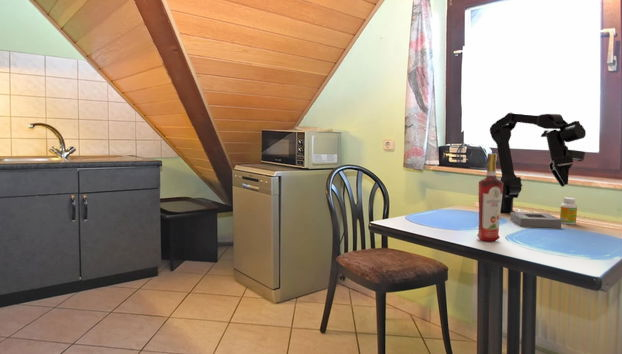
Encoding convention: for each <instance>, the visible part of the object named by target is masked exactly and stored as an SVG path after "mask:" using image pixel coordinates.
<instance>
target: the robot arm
mask: <svg viewBox="0 0 622 354" xmlns="http://www.w3.org/2000/svg"><path fill="white" fill-rule="evenodd" d="M518 123H522V124H530V125H535V126H537V127H539V128H542V129H545V130H544V131H543V133H541V135H540V137H541V138H546V143H547V147H548V150H547V151H548V153H549V156H550V157H549V158H550V163H549V165H548V169H549V171H550V173H551V175H553V177H554V178H555V180H556V181H557V182H558V184H559V186H561V187H563V188H564V187H565V186H566V185H569V176H570V175H569V171H570V168H571V167H572V166H573V165H574V161H577V162H584V160H585V156H586V151H583V150H575V149H569V147H568V146H567V145H566V143H571V142H574V141H579V140H582V139H584V138H586V134H587V133H586V129H585V127H584V126H583V125H582V124H581V123H580V121H579V120H575V121H574V120H573V121H571V122H570V123H568V122H567V121H566V120H564V118H563V116H562V115H561V114H559V113H542V114H531V113H530V114H529V113H519V112H511V111H510V112H508V113H507V114H505V116H503V117H501V118H499V119H498V120H496V122H494V123H492V124H491V126H490V127H489V133H490V135H491V136H490V137H491V139H492V140H493V142H494V143H496V148H497V153H498V154H497V156H498V159H499V167H500V171H501V177H500V180H501V181H502V182H503V193H502V203H501V211H500V213H509V214H511V212H516V211H515V210H514V198H515V199H517V198H518V197H519V196H520V193H521V191H522V187H523V183H522V179H521V176H517V175H516V174H515V169H514V165H513V159H512V154H511V147H510V140H511V137H512V130H514V129H515V128H516V126H517V124H518ZM548 129H549V130H548Z"/></svg>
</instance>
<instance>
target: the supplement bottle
mask: <svg viewBox="0 0 622 354" xmlns="http://www.w3.org/2000/svg"><path fill="white" fill-rule="evenodd" d="M562 200H563V201H562V203H561V204H560V210H559V211H560V213H559V214H560V216H559V219H561V220H562V223H561V224H563V225H576V224H577V217H578V216H577V213H578V205H577V204H576V198H575V197H563V199H562Z"/></svg>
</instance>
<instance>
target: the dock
mask: <svg viewBox="0 0 622 354" xmlns="http://www.w3.org/2000/svg"><path fill="white" fill-rule="evenodd" d="M509 214H510V217H509V219H510V221H512V222H513V223H515V224H516V225H518V226H519V227H525V228H531V227H532V228H549V227H550V228H552V229H553V228H554V229H561V228H562V224H563V223H562V220H561V219H560V217H557V216H555V215H552V214H551V213H549V212H521V211H520V212H518V211H515V212H511V213H509Z"/></svg>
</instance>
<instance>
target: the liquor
mask: <svg viewBox="0 0 622 354" xmlns="http://www.w3.org/2000/svg"><path fill="white" fill-rule="evenodd" d="M497 158H498V154H497V153H487V169H486V177H485V178H483V179H480V181H478V233H477V235H476V236H477V238H478V239H479V240H480V241H481V242H488V243H494V242H496V241H497V240H499V239H500V238H501V237H500V235H499V231H500V220H501V218H500V217H501V212H500V211H501V203H502V193H503V182H502V181H501V179H499V178H497V166H496V165H497V164H496V163H497Z"/></svg>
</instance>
